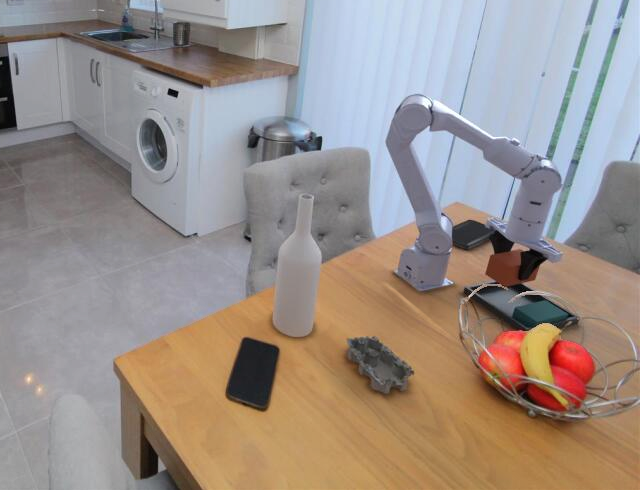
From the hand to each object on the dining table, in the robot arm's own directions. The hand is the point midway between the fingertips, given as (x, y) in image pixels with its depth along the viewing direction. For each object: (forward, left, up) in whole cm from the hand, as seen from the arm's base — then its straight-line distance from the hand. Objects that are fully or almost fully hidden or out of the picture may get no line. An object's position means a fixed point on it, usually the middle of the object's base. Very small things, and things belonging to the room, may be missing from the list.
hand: (511, 272), depth 103 cm
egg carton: (-40, -9, -7) cm, 42 cm away
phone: (+15, +23, -7) cm, 28 cm away
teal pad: (0, -7, -7) cm, 10 cm away
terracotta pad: (0, 0, -1) cm, 1 cm away
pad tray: (0, -3, -7) cm, 8 cm away
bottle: (-48, +6, -7) cm, 49 cm away
